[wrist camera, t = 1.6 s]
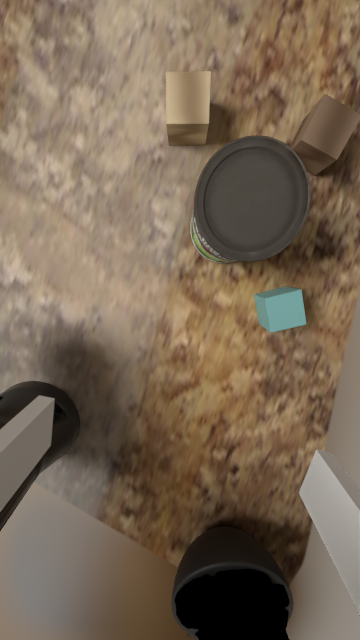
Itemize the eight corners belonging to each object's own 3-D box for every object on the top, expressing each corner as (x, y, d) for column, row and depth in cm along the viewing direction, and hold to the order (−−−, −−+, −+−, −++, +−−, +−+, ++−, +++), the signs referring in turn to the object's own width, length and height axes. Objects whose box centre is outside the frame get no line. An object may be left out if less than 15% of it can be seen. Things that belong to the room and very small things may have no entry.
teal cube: (259, 324, 37) (270, 332, 32) (253, 294, 36) (264, 298, 31) (290, 316, 37) (306, 324, 32) (285, 286, 36) (301, 289, 31)
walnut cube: (283, 159, 32) (301, 139, 27) (302, 120, 31) (324, 93, 26) (314, 176, 32) (337, 159, 28) (334, 138, 31) (362, 115, 26)
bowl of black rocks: (175, 572, 50) (170, 748, 32) (172, 499, 46) (165, 655, 27) (267, 573, 50) (316, 752, 31) (274, 499, 45) (336, 658, 27)
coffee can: (224, 277, 36) (250, 284, 22) (175, 230, 34) (170, 205, 21) (274, 225, 34) (336, 197, 20) (225, 172, 32) (255, 104, 19)
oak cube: (169, 145, 32) (166, 123, 27) (168, 102, 31) (165, 71, 26) (205, 145, 32) (208, 123, 27) (206, 102, 31) (210, 71, 26)
